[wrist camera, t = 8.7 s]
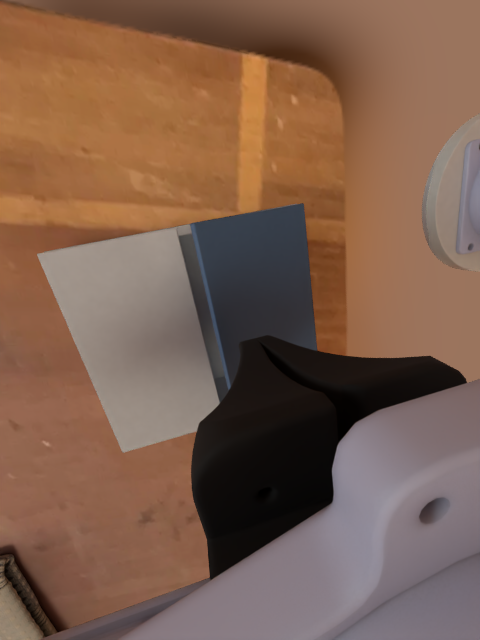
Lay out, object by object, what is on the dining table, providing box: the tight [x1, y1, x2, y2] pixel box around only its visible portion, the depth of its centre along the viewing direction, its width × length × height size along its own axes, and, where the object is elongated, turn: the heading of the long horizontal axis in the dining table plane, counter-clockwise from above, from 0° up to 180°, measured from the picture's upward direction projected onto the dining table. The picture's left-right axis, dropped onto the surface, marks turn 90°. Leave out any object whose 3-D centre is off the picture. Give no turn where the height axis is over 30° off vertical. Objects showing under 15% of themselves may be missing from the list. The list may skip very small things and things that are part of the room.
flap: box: [190, 203, 317, 391], centre depth 14 cm, size 6×12×1 cm, turn 11°
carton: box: [37, 204, 296, 453], centre depth 17 cm, size 13×12×5 cm
